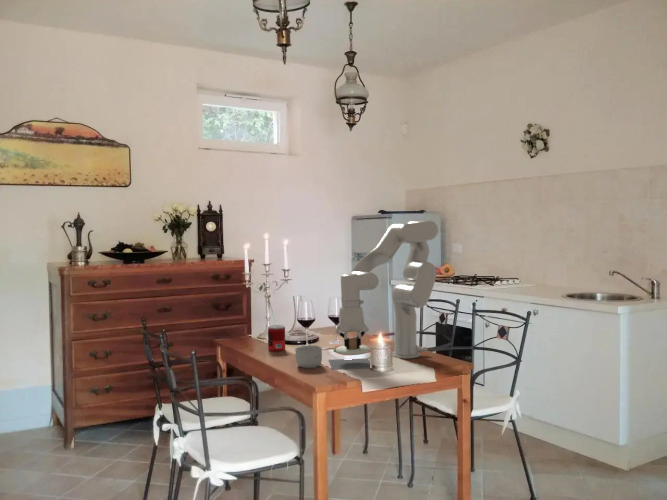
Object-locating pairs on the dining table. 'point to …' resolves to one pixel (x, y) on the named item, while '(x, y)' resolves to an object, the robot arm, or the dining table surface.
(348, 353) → the lid
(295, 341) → the dining table surface
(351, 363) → the mat
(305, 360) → the teacup
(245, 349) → the dining table surface
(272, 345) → the canned food
